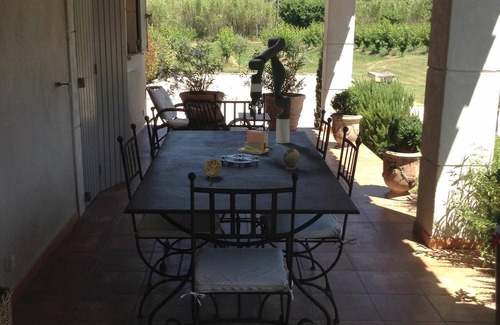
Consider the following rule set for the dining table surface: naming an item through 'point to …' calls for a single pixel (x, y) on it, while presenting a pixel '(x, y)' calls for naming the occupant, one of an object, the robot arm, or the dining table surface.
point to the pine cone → (213, 167)
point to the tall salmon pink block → (256, 137)
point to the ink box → (265, 137)
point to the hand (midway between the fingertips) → (255, 115)
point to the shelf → (253, 148)
